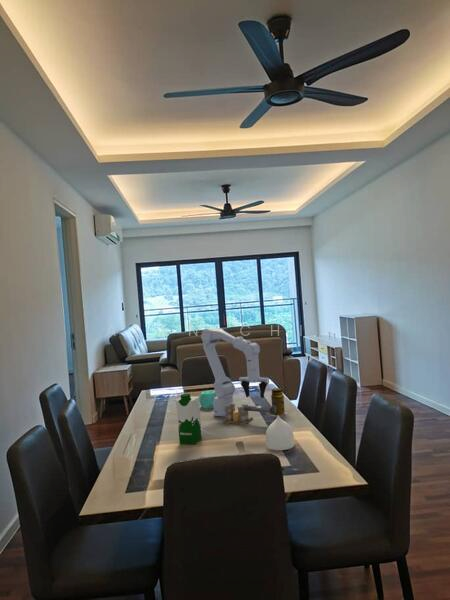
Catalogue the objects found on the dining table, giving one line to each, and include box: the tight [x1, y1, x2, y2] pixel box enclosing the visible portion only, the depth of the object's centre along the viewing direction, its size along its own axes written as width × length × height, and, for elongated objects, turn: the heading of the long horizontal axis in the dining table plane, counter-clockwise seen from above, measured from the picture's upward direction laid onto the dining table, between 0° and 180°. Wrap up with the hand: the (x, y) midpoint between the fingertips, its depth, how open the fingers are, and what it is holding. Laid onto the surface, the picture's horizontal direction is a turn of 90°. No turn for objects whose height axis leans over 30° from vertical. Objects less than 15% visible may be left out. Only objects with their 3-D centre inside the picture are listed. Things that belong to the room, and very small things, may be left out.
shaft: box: [244, 405, 276, 415], centre depth 200 cm, size 15×4×4 cm, turn 61°
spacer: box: [233, 408, 239, 421], centre depth 206 cm, size 2×5×5 cm, turn 160°
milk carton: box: [175, 393, 203, 445], centre depth 182 cm, size 9×9×20 cm
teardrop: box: [265, 415, 295, 451], centre depth 170 cm, size 11×11×12 cm
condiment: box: [265, 387, 288, 418], centre depth 214 cm, size 7×8×12 cm
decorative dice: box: [199, 389, 217, 409], centre depth 238 cm, size 8×8×8 cm
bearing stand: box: [222, 402, 254, 426], centre depth 206 cm, size 10×10×8 cm
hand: (255, 397), depth 208 cm, fingers open, 7 cm apart
